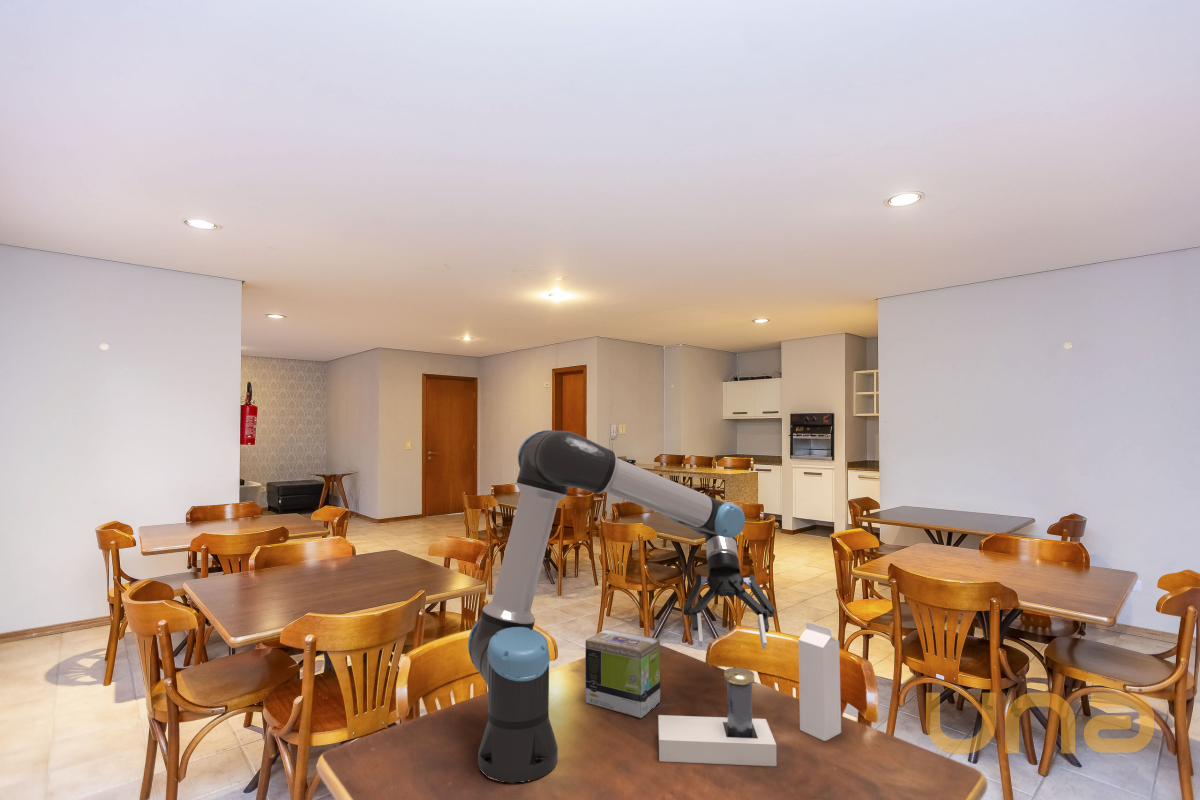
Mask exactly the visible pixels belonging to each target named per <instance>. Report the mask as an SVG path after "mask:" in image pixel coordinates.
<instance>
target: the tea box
mask: <svg viewBox="0 0 1200 800" xmlns="http://www.w3.org/2000/svg"><path fill="white" fill-rule="evenodd" d="M660 646H661V644H660V639H659V638H656V637H652V636H646V635H645V636H644V635H639V634H636V633H635V634H634V633H630V632H625V631H619V630H614V629H608V628H606V629H604V630H602V631H600V632H599V633H596V634H594V635H593V636H590V637H588V638H586V639H585V703H587V704H589V705H593V706H597V707H602V708H604V709H607V710H611V711H614V712H619V713H622V714H625V715H629V716H633V717H636V718H639V719H642V718H644V716H646V715H647V714H648V713H650V712H651V711H652V710H653V709H654V708H656V707H657V706H658V705H659V704H660V703H661V649H660ZM658 703H659V704H658ZM657 704H658V705H657ZM656 705H657V706H656ZM652 708H653V709H652ZM651 709H652V710H651ZM650 710H651V711H650Z"/></svg>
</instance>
